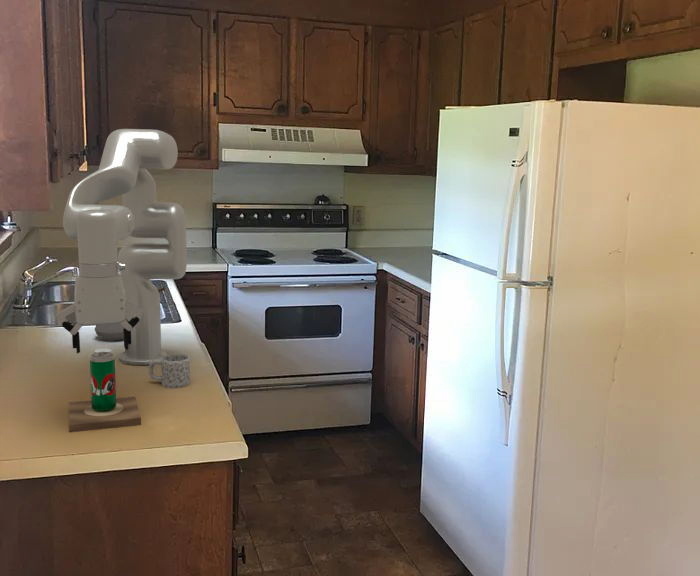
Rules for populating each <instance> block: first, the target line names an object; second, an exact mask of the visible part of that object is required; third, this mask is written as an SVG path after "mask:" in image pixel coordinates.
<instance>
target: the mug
mask: <svg viewBox="0 0 700 576" xmlns="http://www.w3.org/2000/svg"><path fill="white" fill-rule="evenodd" d="M190 359H191V358H190V356H189V354H188V355H187V354H183V353H172V354H167V355H166V356H163V357H162V358H161V359H160V360H153V361H151V362H150V363H149V364H148V373H149V375H148V376H149V378H150V379H152V380H155V381H158V382H161V385H162V387H164V388H167V387H169V388H168V389H180V388H179V387H181V388H185V386H186V387H188V386H189V385H190V384H191V375H190V373H191V371H190V369H191V367H190V366H191V365H190V364H191V363H190ZM156 365H161V375H155V374H154V366H156ZM187 385H188V386H187Z"/></svg>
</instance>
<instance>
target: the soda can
mask: <svg viewBox="0 0 700 576" xmlns="http://www.w3.org/2000/svg"><path fill="white" fill-rule="evenodd" d="M113 354H114V353H113V352H112V353H110V352H97V353H92V354H90V355H91V356H90V359H89V375H90V377H89V380H90V399H91V400H90V401H91V407H92V409H93V410H95V411H97V412H107V411H111V410H113V409H114V408H115V407H116V398H117V385H116V384H117V380H116V379H117V378H116V359H115V356H114V355H113Z"/></svg>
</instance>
